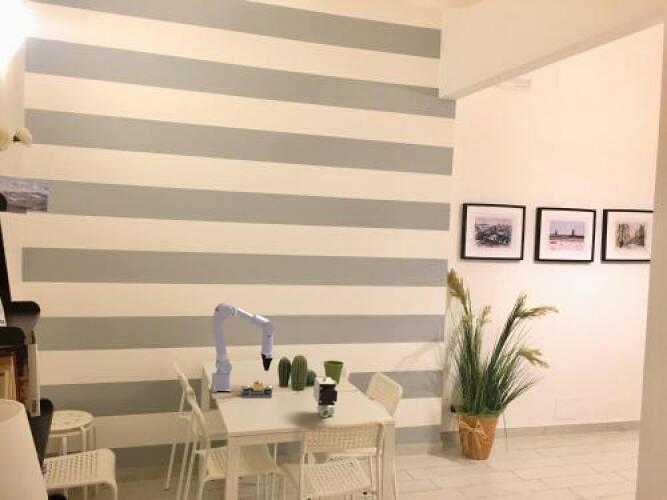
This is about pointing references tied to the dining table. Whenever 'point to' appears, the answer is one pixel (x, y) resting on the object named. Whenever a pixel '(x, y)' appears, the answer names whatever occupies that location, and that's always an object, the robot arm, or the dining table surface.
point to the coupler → (257, 386)
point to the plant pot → (333, 369)
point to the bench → (250, 394)
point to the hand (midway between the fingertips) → (265, 368)
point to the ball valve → (325, 395)
